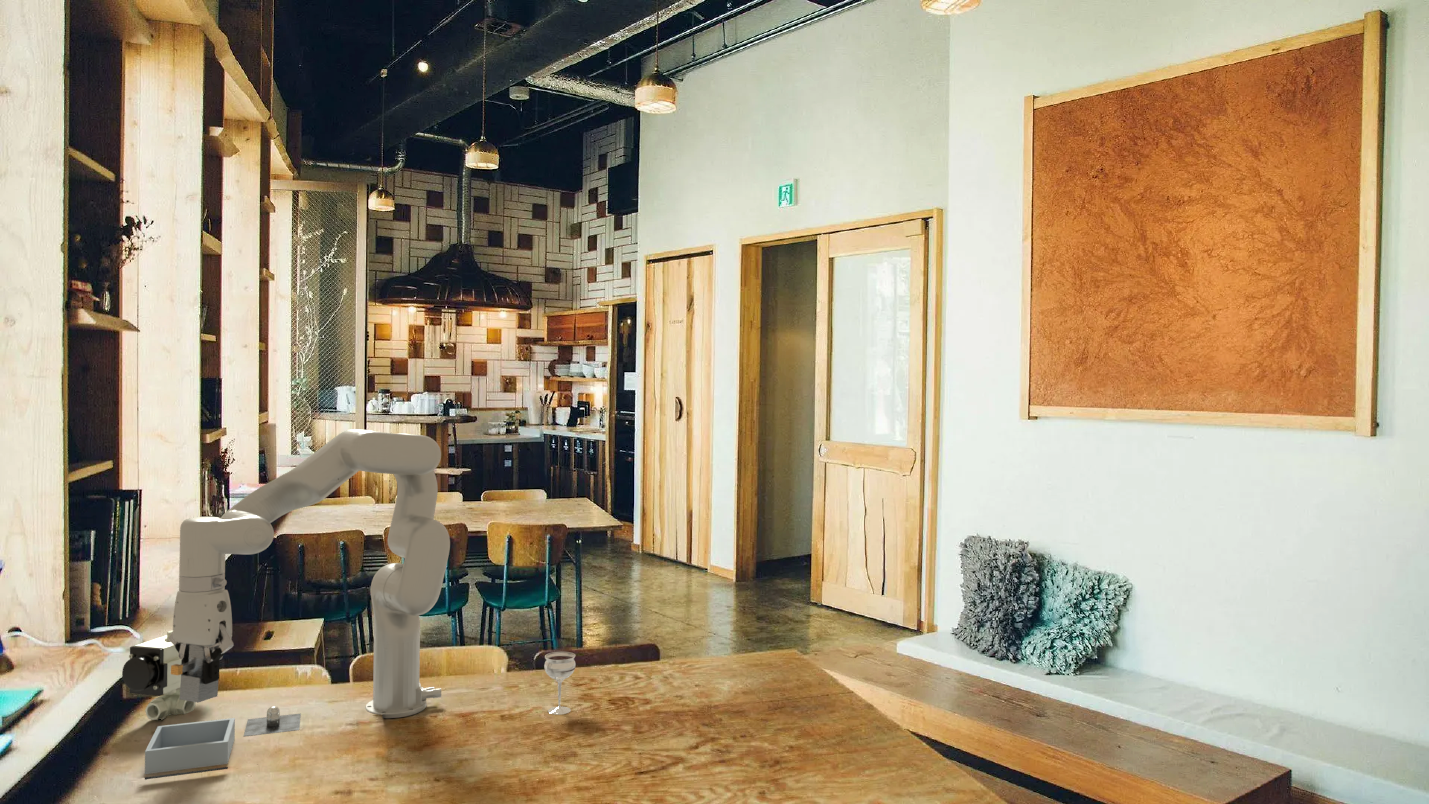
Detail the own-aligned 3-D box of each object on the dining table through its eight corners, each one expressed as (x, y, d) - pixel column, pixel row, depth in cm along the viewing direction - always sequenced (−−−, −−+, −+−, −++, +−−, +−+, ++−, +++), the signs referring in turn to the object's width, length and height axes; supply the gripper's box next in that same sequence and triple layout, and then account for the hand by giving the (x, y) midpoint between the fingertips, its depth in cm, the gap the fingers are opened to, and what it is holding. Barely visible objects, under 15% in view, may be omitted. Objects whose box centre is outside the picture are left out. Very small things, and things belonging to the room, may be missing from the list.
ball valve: (156, 732, 184) (157, 644, 183) (120, 728, 185) (121, 641, 185) (221, 703, 201) (222, 622, 201) (187, 699, 203) (188, 620, 203)
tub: (234, 743, 179) (234, 717, 179) (227, 769, 167) (227, 741, 167) (157, 752, 174) (157, 726, 174) (144, 779, 162) (144, 751, 162)
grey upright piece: (199, 693, 174) (203, 632, 175) (217, 696, 173) (221, 635, 173) (162, 704, 167) (166, 641, 167) (181, 708, 165) (185, 644, 166)
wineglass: (537, 713, 198) (538, 658, 198) (554, 703, 204) (555, 650, 204) (564, 717, 195) (565, 662, 195) (580, 707, 202) (581, 653, 202)
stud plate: (300, 718, 193) (301, 696, 193) (299, 734, 183) (299, 711, 183) (247, 724, 189) (248, 701, 189) (243, 741, 180) (243, 717, 180)
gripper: (253, 583, 173) (251, 679, 173) (183, 576, 178) (182, 670, 178) (221, 591, 166) (219, 691, 166) (149, 583, 171) (147, 681, 171)
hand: (200, 679), depth 172 cm, fingers closed on grey upright piece, 4 cm apart
